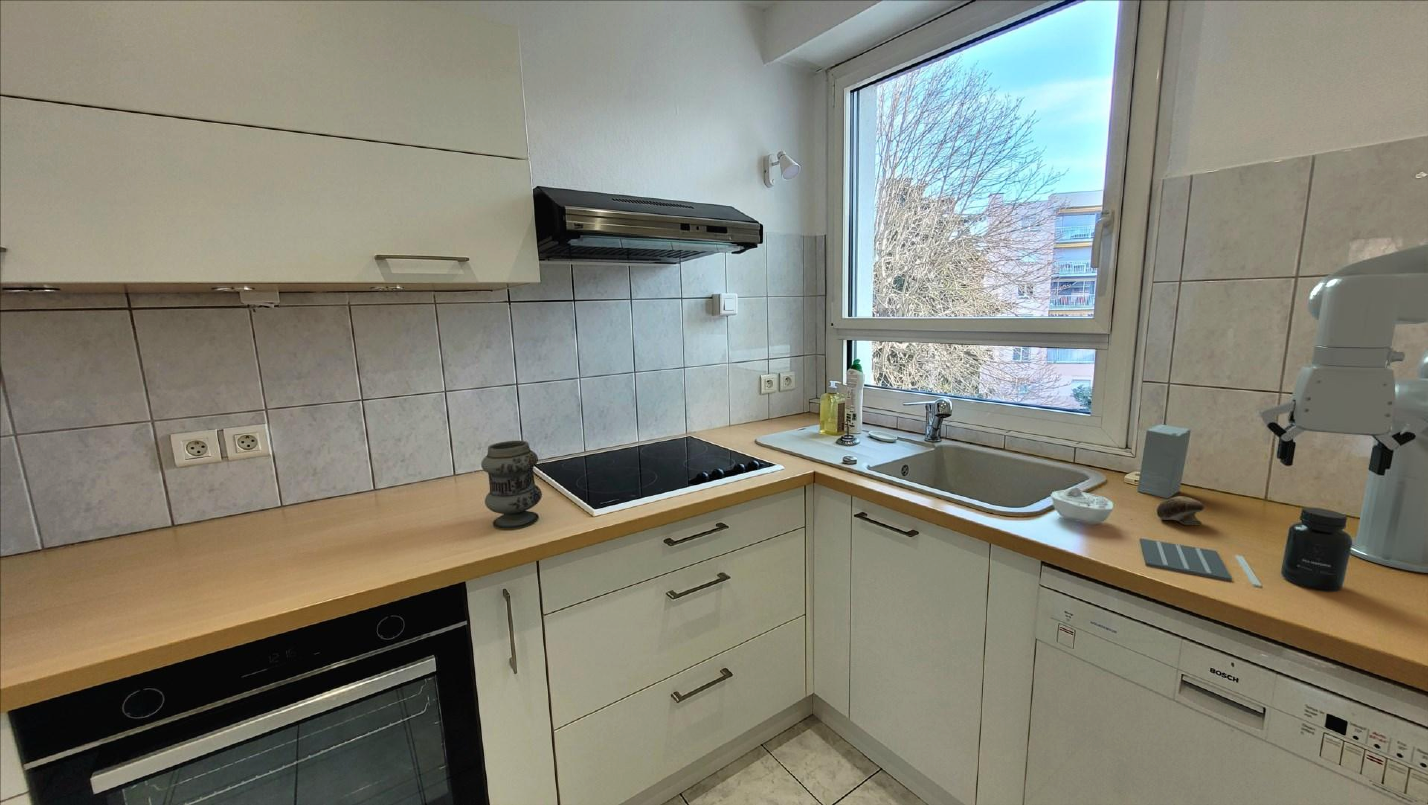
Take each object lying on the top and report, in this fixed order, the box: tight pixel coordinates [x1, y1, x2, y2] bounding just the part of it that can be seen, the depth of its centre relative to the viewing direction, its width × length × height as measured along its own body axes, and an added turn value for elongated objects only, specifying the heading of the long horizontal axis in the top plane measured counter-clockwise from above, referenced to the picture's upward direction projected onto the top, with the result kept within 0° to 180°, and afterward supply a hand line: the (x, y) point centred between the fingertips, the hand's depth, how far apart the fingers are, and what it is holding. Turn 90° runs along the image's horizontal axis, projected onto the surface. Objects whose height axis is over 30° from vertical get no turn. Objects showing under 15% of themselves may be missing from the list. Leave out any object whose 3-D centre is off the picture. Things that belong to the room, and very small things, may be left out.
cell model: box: [1050, 486, 1115, 526], centre depth 114 cm, size 10×12×7 cm
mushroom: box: [1156, 495, 1205, 526], centre depth 111 cm, size 8×8×6 cm
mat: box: [1139, 537, 1233, 582], centre depth 96 cm, size 11×12×1 cm
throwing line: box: [1234, 554, 1262, 588], centre depth 91 cm, size 1×12×1 cm, turn 146°
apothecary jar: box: [480, 440, 543, 531], centre depth 120 cm, size 12×12×18 cm
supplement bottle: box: [1280, 506, 1352, 593], centre depth 86 cm, size 7×7×12 cm
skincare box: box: [1137, 424, 1192, 499], centre depth 129 cm, size 8×7×16 cm
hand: (1329, 468), depth 84 cm, fingers open, 9 cm apart
